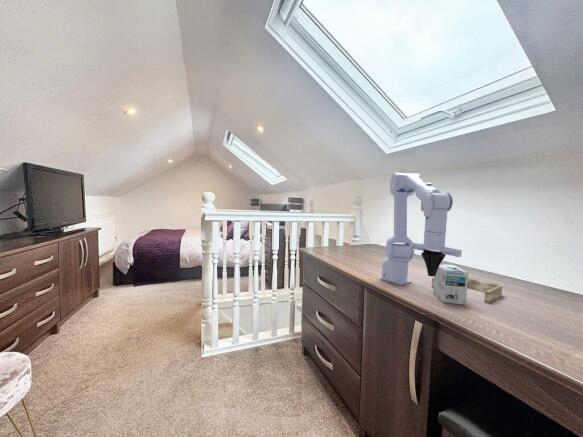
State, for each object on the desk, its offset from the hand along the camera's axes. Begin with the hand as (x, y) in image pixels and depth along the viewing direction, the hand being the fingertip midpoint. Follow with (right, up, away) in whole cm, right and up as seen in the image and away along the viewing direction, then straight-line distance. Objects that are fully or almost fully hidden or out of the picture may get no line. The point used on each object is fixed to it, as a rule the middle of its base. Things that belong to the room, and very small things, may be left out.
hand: (431, 275), depth 78 cm
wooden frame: (+22, -10, +16) cm, 29 cm away
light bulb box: (+10, -10, +8) cm, 16 cm away
